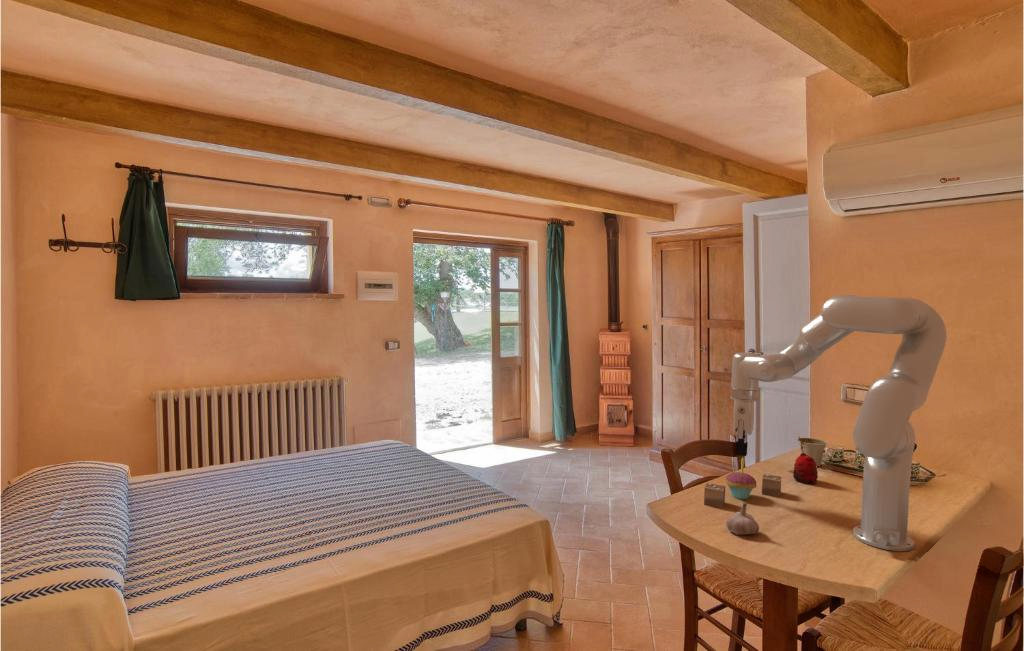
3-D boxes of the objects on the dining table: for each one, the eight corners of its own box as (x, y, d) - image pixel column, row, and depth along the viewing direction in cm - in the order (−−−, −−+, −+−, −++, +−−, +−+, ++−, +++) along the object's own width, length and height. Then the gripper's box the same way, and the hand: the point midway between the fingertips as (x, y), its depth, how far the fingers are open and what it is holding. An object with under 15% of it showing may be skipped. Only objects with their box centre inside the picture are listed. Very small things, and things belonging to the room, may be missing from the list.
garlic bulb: (763, 533, 137) (764, 502, 137) (751, 542, 132) (752, 510, 132) (733, 524, 143) (734, 494, 142) (721, 532, 137) (722, 501, 137)
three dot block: (722, 508, 153) (723, 490, 153) (704, 504, 155) (704, 487, 155) (724, 502, 157) (725, 485, 157) (706, 499, 160) (707, 482, 160)
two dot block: (780, 497, 162) (780, 480, 162) (761, 494, 165) (762, 477, 164) (780, 492, 167) (781, 476, 166) (762, 489, 169) (763, 473, 169)
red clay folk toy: (821, 485, 173) (824, 439, 173) (799, 485, 173) (801, 438, 173) (809, 477, 181) (811, 433, 180) (788, 477, 181) (790, 432, 180)
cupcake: (727, 489, 168) (729, 451, 168) (757, 494, 164) (759, 455, 163) (722, 498, 161) (724, 458, 160) (753, 504, 157) (755, 463, 156)
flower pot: (802, 458, 202) (803, 436, 202) (830, 465, 195) (831, 441, 195) (791, 463, 196) (792, 440, 196) (819, 470, 189) (820, 445, 188)
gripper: (756, 400, 152) (752, 463, 154) (759, 391, 166) (756, 450, 167) (727, 396, 156) (724, 459, 157) (733, 389, 169) (730, 446, 170)
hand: (740, 454), depth 162 cm, fingers closed
